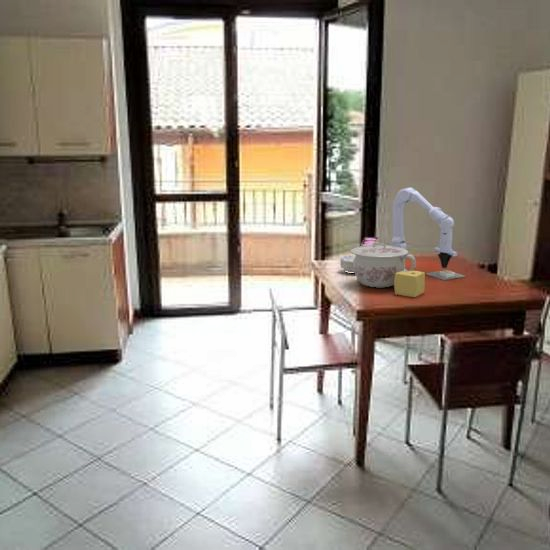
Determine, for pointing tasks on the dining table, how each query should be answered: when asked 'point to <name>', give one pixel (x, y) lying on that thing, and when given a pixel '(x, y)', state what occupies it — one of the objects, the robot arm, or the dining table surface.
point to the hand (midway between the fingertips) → (444, 267)
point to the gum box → (369, 241)
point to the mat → (436, 275)
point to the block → (447, 273)
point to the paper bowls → (347, 263)
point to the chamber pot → (379, 264)
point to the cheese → (409, 283)
